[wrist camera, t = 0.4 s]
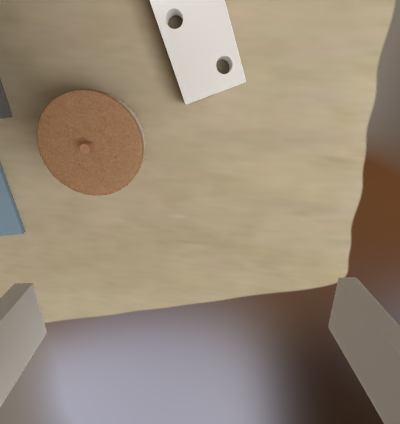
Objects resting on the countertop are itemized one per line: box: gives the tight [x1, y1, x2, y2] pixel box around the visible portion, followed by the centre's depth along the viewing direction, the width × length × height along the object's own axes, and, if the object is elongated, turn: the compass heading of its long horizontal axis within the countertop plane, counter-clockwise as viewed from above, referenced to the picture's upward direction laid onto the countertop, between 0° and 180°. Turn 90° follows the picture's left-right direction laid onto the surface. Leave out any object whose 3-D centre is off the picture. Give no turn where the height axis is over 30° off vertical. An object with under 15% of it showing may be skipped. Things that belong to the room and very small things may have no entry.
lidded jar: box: [37, 89, 146, 195], centre depth 32 cm, size 11×11×9 cm
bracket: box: [150, 0, 246, 104], centre depth 29 cm, size 13×7×8 cm, turn 19°
